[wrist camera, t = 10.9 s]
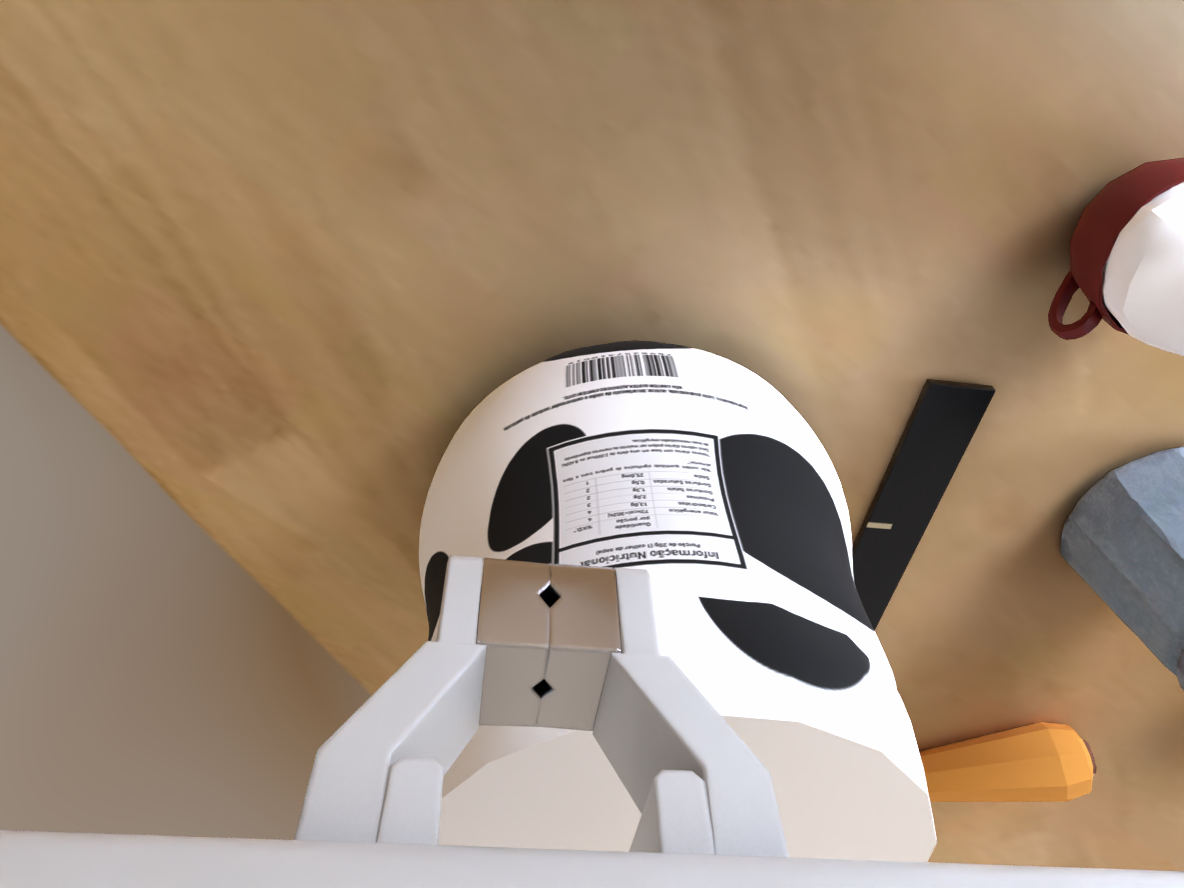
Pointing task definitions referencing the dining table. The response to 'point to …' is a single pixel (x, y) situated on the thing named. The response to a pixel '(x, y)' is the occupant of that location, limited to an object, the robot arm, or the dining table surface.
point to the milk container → (680, 595)
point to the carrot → (1011, 766)
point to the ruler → (914, 487)
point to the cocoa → (1130, 259)
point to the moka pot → (1136, 549)
